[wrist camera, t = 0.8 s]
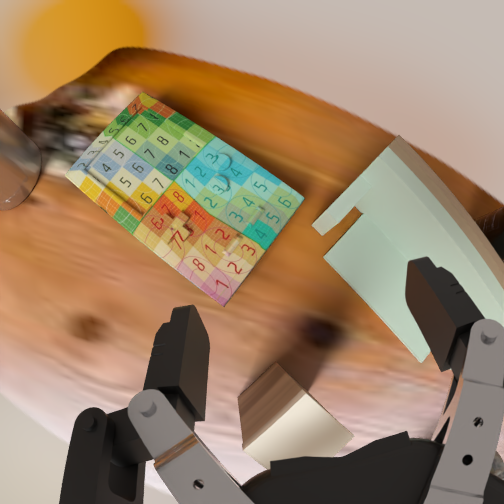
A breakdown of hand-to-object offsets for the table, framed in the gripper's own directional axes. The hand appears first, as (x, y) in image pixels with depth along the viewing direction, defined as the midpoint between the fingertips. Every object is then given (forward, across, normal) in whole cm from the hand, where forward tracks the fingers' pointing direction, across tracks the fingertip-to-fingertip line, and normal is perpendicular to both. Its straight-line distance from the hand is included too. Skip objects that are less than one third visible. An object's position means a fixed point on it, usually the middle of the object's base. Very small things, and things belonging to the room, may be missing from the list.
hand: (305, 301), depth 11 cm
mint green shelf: (+15, -11, +15) cm, 24 cm away
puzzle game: (+21, +9, +3) cm, 23 cm away
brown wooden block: (+8, +4, +18) cm, 20 cm away
